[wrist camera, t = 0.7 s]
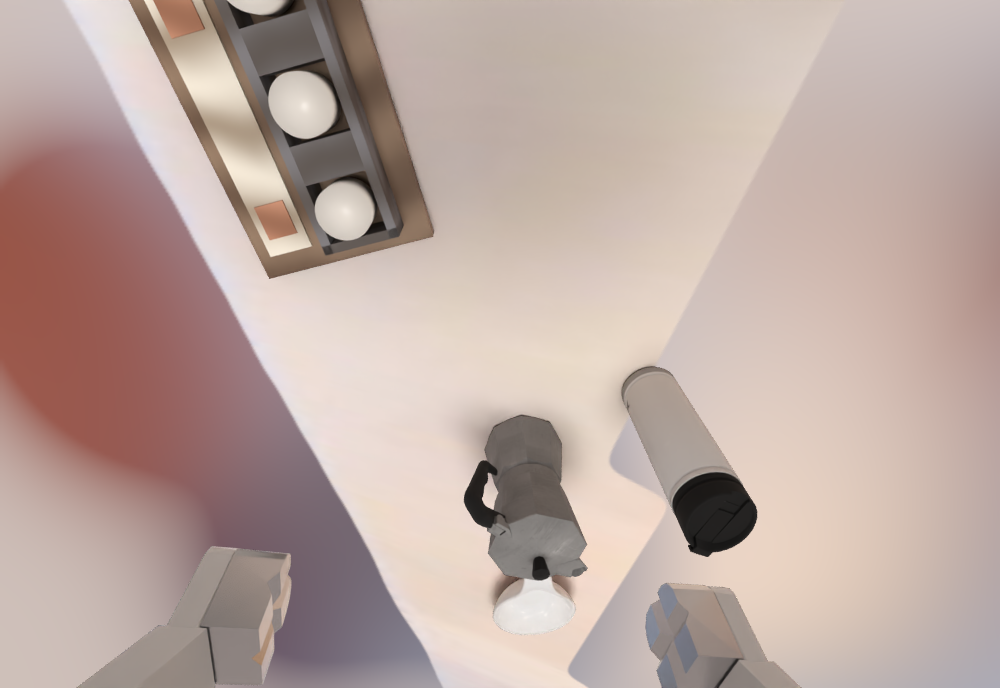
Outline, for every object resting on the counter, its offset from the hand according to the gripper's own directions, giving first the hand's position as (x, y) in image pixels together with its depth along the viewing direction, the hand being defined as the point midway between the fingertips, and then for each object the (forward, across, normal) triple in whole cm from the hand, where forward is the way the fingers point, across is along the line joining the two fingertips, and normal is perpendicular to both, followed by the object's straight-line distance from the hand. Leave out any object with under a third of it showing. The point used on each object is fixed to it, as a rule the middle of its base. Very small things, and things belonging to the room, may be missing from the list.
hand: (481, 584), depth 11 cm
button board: (+40, +16, -3) cm, 43 cm away
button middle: (+37, +13, -4) cm, 39 cm away
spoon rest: (+40, -17, +51) cm, 67 cm away
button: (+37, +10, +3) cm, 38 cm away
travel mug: (+40, -23, +20) cm, 51 cm away
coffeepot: (+40, -10, +29) cm, 51 cm away
